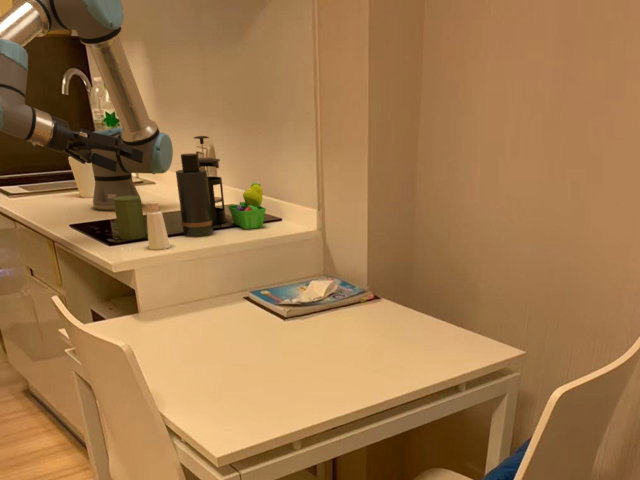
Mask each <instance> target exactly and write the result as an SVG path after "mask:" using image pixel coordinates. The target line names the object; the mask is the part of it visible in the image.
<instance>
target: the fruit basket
mask: <svg viewBox="0 0 640 480" xmlns="http://www.w3.org/2000/svg"><path fill="white" fill-rule="evenodd" d="M261 186H262V185H261V183H257V182H253V183H252V184H251V185H250V187H249V188H248V189H246V190H245V191H244V192H243V194H242V197H243V200H244V201H240V202H239V204H232V205H228V206H227V208H228V210H229V211H230V214H231V217H232V220H233V224H234V225H236V226H238V227H240V228H242V229H244V230H252V229H259V228H263V225H264V220H265V214H266V211H267V208H266V207H263V206H261V205H262V203H263V193H264V191H263V188H262V187H261Z"/></svg>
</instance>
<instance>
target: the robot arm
mask: <svg viewBox="0 0 640 480" xmlns="http://www.w3.org/2000/svg"><path fill="white" fill-rule="evenodd" d="M123 10H124V7H123V2H122V0H13V2H12V7H11V8H9V9H8V10H7V11H6V12H4V13H3V14H2V15H1V16H0V132H1V133H3V134H7V135H10V136H13V137H16V138H18V139H21V140H24V141H26V142H30V143H31V145H32V146H37V145H38V146H41V147H45V148H46V149H48V150H51V151H54V152H56V153H59V154H60V153H63V154H65V155H67V156H68V157H72V158H74V159H75V160H77V161H79V162H80V163H82V164H86V162H87V163H92V168H93V173H94V178H95V189H94V197H92V198H93V199H92V206H93V209H95V210H98V211H108V212H109V211H111V212H112V211H115V207H114V201H113V198H115V197H120V196H139V197H140V199H141V196H140V193H139V192H138V189H137V188H136V185H135V183H134V181H133V176H132V174H152V175H156V174H157V175H158V174H165V173H167V172H168V171H169V169H170V168H171V166H172V162H173V158H174V157H173V155H174V147H173V141H172V139H171V137H170V135H169V134H167V133H165V132H161V131H160V128H159V126H158V123H157V122H155V121H154V120H152V119H150V116H149V113H148V111H147V108H146V106H145V103H144V101H143V98H142V95H141V92H140V90H139V87H138V84H137V81H136V79H135V76H134V73H133V71H132V69H131V65H130V63H129V61H128V58H127V55H126V53H125V50H124V47H123V45H122V42H121V39H120V36H121V33H122V30H123V29H122V25H123V23H124V16H125V15H124V14H125V13H124V11H123ZM54 31H55V32H56V31H76V35H77V36H78V38H79V41H80V43H81V44H83V45H85V46H87V47H88V48H89V51H90V52H91V56H92V58H93V60H94V62H95V65H96V67H97V71H98V72H99V75H100V77H101V80H102V82H103V84H104V86H105V89H106V91H107V93H108V97H109V99H110V102H111V104H112V106H113V109H114V111H115V113H116V116H117V118H118V120H119V123H120V125H121V127H115V128H109V129H103V130H102V129H101V130H96V131H90V130H87V129H85V128H82V127H81V128H78V131H76V130H71V128H70V125H69V123H68V121H66V120H64V119H62V118H60V117H56V116H55V115H51V114H49V113H48V112H45V111H42V110H40V109H37V108H36V107H32V106H29V105H27V104H26V95H27V85H28V84H27V83H28V73H29V66H28V65H29V54H28V52H27V50H26V49H25V48H24V47H25V46H26V45H27V44H28V43H30V42H31V41H32V40H33V39H34V38H42V37H44V36H46V35H47V34H48V33H50V32H54ZM141 200H142V199H141ZM141 204H142V205H143V203H142V201H141Z"/></svg>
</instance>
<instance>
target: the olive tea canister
mask: <svg viewBox="0 0 640 480" xmlns="http://www.w3.org/2000/svg"><path fill="white" fill-rule="evenodd" d="M139 196H140V195H139ZM139 196H120V197H115V198H113V201H114V207H115V210H114V212H115V218H116V224H117V229H118V235H119V238H120V239H121V240H128V241H129V240H130V241H133V240H140V239H145V238H146V237H147V231H146V223H145V217H144V210H143V203H142V204H141V202H142V199H140V198H141V196H140V197H139Z"/></svg>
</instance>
